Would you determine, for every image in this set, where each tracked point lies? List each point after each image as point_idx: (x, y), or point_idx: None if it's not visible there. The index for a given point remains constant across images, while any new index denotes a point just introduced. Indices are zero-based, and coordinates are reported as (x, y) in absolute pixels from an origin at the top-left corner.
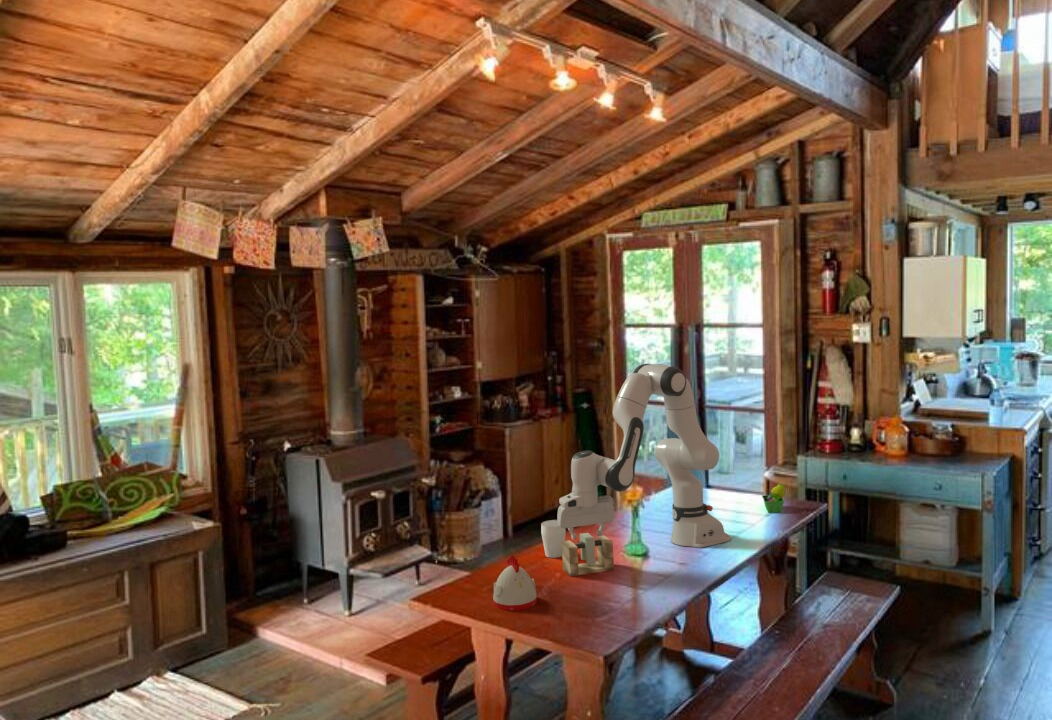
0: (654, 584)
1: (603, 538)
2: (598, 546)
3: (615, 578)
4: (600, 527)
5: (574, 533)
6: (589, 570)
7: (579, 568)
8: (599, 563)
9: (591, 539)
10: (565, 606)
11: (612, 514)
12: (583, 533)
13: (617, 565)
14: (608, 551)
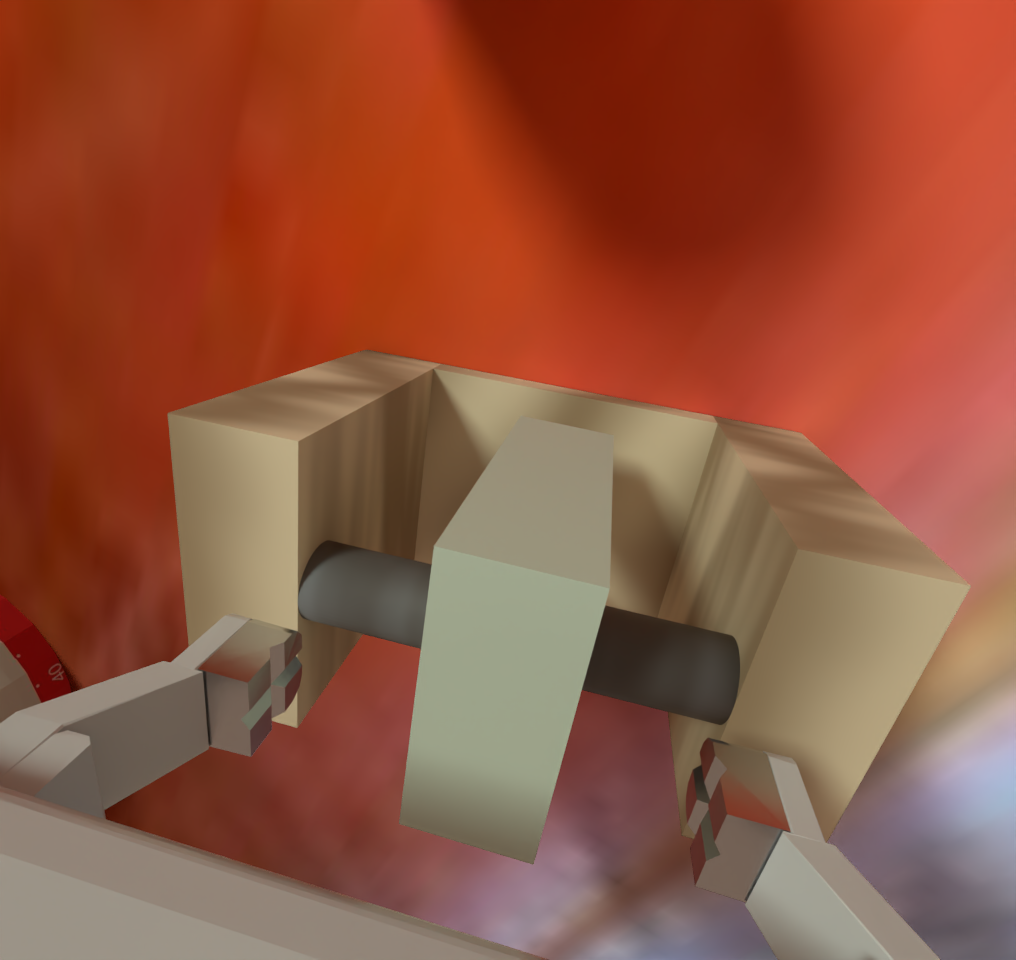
0: (753, 944)
1: (815, 698)
2: (737, 545)
3: (616, 748)
4: (818, 925)
5: (227, 702)
6: None
7: (460, 491)
8: (689, 489)
9: (485, 832)
10: (188, 843)
11: None
12: (507, 575)
13: None
14: None
